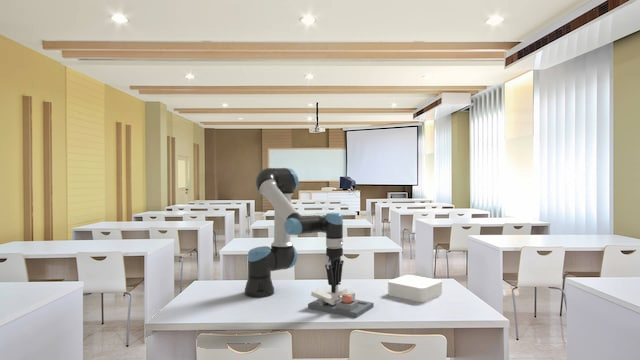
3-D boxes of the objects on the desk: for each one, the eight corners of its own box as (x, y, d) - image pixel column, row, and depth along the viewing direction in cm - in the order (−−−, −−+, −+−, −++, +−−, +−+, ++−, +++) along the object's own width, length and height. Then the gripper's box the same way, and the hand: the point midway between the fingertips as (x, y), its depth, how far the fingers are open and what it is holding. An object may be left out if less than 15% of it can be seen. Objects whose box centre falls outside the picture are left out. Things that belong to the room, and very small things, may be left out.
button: (340, 304, 188) (340, 295, 188) (345, 301, 192) (345, 293, 192) (349, 305, 185) (349, 297, 185) (354, 302, 189) (354, 294, 189)
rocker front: (311, 295, 196) (311, 291, 195) (316, 293, 200) (317, 289, 200) (333, 305, 190) (333, 301, 189) (338, 302, 194) (339, 298, 194)
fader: (348, 300, 197) (348, 293, 197) (351, 299, 199) (351, 292, 199) (352, 301, 196) (352, 294, 196) (355, 299, 198) (355, 292, 198)
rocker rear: (320, 297, 202) (320, 292, 202) (326, 294, 207) (325, 290, 207) (342, 295, 196) (341, 291, 196) (347, 292, 200) (346, 288, 201)
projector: (444, 293, 218) (444, 280, 218) (423, 303, 202) (423, 288, 202) (409, 286, 232) (409, 273, 232) (386, 295, 216) (386, 281, 216)
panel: (307, 308, 194) (307, 297, 194) (327, 298, 209) (327, 288, 209) (356, 317, 181) (356, 306, 181) (373, 307, 196) (373, 296, 195)
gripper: (334, 250, 184) (334, 304, 184) (348, 245, 195) (349, 297, 195) (319, 248, 188) (320, 301, 188) (334, 244, 199) (334, 294, 199)
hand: (334, 299), depth 192 cm, fingers closed
